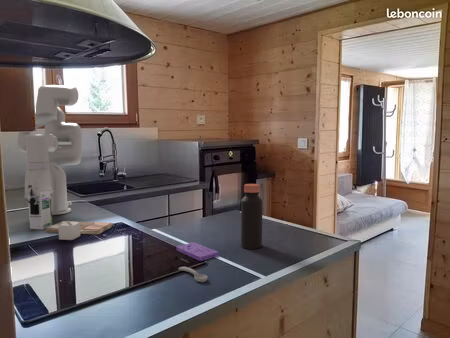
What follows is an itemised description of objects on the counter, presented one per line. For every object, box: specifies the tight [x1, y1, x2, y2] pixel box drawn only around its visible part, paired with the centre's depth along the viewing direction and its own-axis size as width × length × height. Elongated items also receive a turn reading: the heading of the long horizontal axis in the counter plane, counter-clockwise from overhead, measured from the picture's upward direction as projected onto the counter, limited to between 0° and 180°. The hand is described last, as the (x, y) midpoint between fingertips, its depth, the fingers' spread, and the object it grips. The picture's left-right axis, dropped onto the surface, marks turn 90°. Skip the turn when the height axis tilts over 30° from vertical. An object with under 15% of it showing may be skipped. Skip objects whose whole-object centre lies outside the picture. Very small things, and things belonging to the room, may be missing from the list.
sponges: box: [175, 241, 219, 262], centre depth 108 cm, size 7×13×2 cm, turn 41°
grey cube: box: [58, 221, 81, 241], centre depth 124 cm, size 5×5×5 cm
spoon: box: [178, 266, 209, 283], centre depth 91 cm, size 3×12×2 cm, turn 37°
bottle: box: [240, 183, 263, 250], centre depth 113 cm, size 7×7×20 cm
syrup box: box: [27, 190, 54, 231], centre depth 137 cm, size 6×6×14 cm
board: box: [44, 220, 114, 235], centre depth 136 cm, size 12×21×2 cm, turn 82°
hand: (40, 212), depth 138 cm, fingers closed on syrup box, 5 cm apart
